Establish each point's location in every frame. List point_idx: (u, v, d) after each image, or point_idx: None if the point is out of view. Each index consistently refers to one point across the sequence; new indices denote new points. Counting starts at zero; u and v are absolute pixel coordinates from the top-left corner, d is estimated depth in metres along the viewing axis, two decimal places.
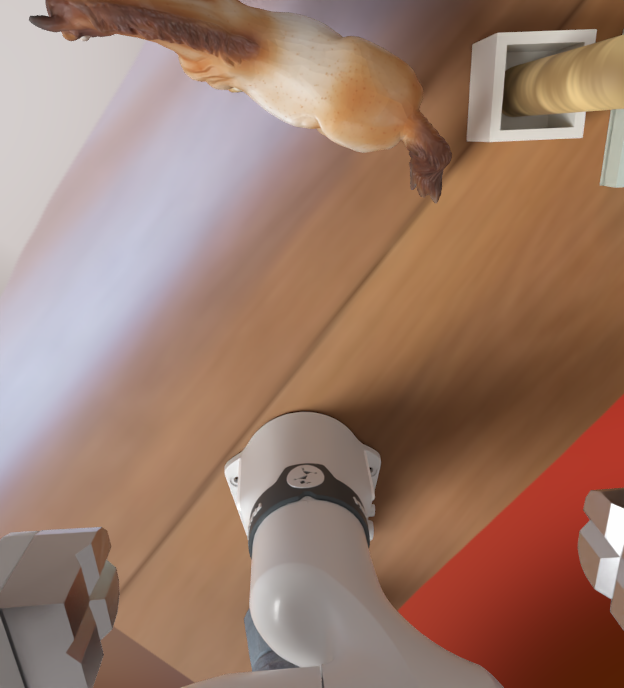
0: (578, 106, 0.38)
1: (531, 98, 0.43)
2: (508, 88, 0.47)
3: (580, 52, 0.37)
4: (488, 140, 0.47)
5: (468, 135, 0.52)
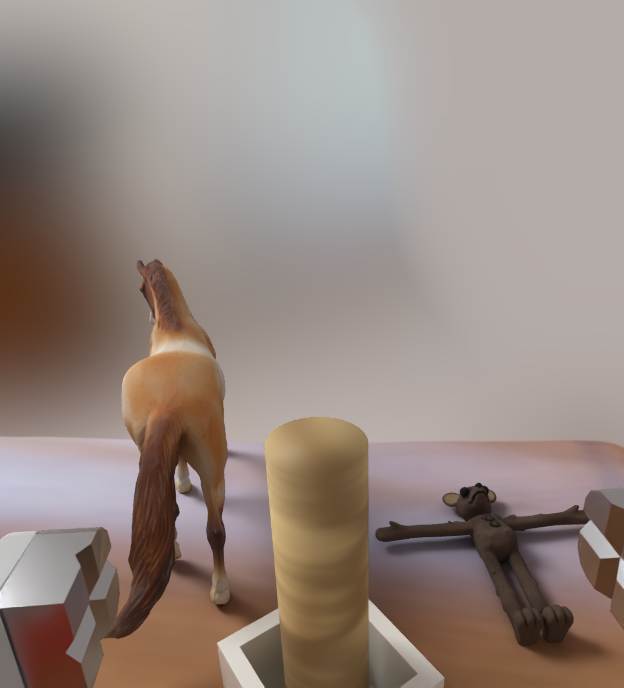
0: None
1: None
2: None
3: None
4: None
5: None
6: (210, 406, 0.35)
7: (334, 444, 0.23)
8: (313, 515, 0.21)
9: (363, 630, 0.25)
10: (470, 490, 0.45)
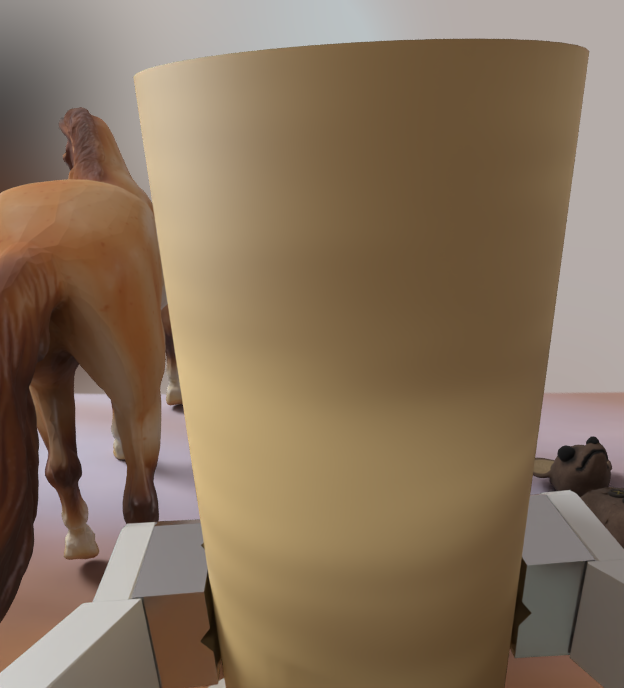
0: None
1: None
2: None
3: None
4: None
5: None
6: (124, 255, 0.18)
7: None
8: (348, 326, 0.04)
9: None
10: (576, 450, 0.27)
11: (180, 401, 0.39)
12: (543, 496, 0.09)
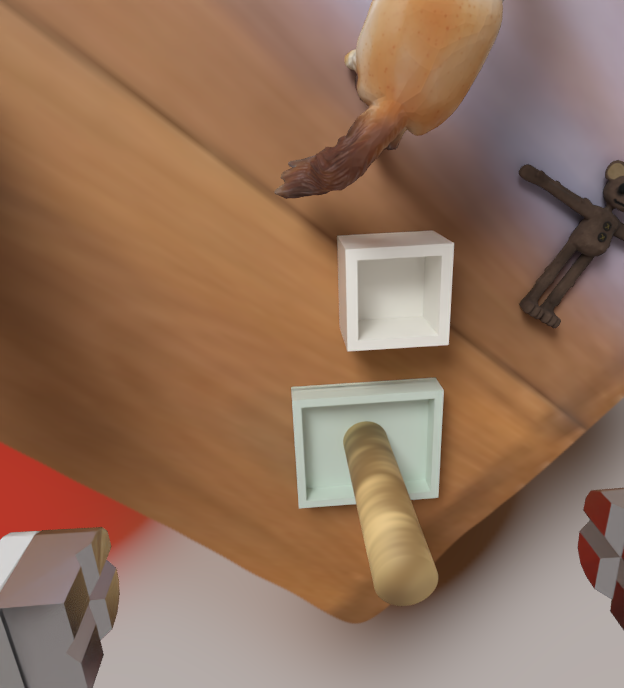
0: (373, 520, 0.40)
1: (374, 467, 0.45)
2: (377, 439, 0.49)
3: (418, 523, 0.40)
4: (346, 248, 0.41)
5: (343, 236, 0.46)
6: (445, 114, 0.29)
7: (411, 588, 0.37)
8: None
9: None
10: None
11: None
12: None
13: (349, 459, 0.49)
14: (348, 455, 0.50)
